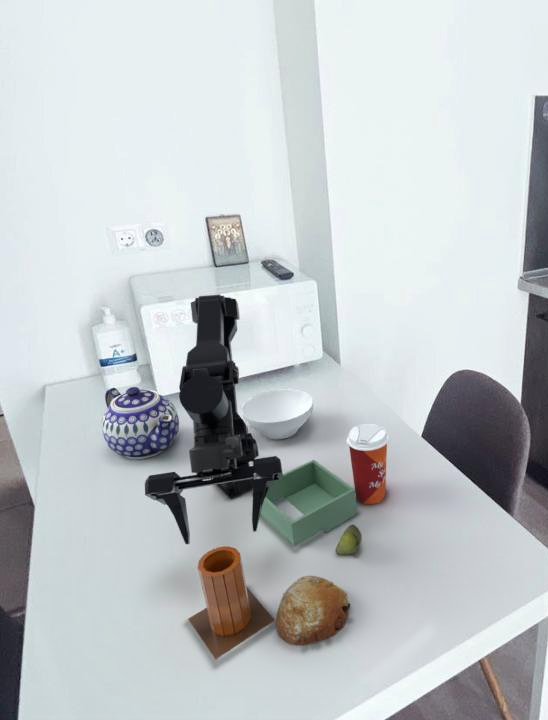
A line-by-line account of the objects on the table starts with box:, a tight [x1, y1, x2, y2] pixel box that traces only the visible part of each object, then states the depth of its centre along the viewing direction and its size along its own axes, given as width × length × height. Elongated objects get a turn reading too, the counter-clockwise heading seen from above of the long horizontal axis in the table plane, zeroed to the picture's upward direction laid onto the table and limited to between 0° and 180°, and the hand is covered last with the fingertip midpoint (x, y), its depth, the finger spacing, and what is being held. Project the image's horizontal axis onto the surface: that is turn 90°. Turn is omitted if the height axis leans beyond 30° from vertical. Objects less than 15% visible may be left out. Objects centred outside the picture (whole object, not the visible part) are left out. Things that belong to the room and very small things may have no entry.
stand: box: [187, 586, 276, 661], centre depth 77 cm, size 9×9×6 cm
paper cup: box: [346, 423, 390, 505], centre depth 102 cm, size 8×8×14 cm
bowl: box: [241, 388, 314, 440], centre depth 125 cm, size 16×16×7 cm
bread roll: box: [275, 575, 351, 646], centre depth 78 cm, size 10×10×8 cm
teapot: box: [101, 386, 180, 460], centre depth 118 cm, size 25×15×15 cm, turn 53°
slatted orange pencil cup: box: [197, 545, 251, 636], centre depth 76 cm, size 5×5×11 cm
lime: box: [335, 523, 363, 556], centre depth 90 cm, size 4×5×5 cm
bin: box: [251, 459, 358, 547], centre depth 99 cm, size 13×13×6 cm
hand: (221, 537), depth 78 cm, fingers open, 9 cm apart
